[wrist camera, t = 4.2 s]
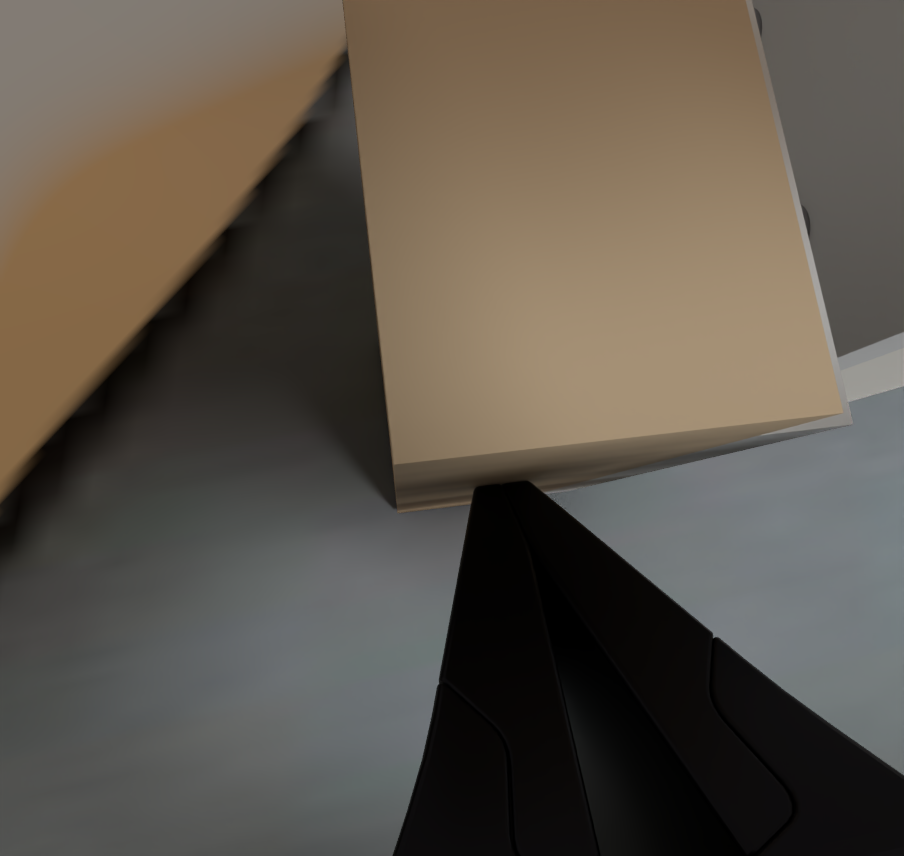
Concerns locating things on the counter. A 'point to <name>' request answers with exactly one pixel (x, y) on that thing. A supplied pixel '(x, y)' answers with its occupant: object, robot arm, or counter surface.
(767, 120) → the light wood tall block
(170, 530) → the counter surface
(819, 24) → the frame leaf
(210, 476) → the counter surface
